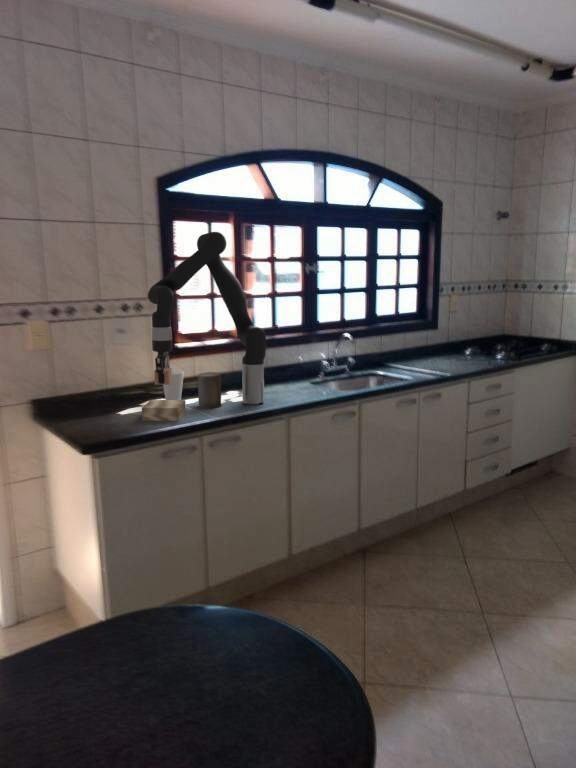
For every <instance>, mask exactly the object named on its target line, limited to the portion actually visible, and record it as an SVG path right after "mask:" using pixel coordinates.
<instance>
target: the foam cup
mask: <svg viewBox="0 0 576 768" xmlns="http://www.w3.org/2000/svg"><path fill="white" fill-rule="evenodd" d="M184 375H185V373H184V371H183V370H173V369H172V383H170V384H169V385H162V386H163V393H164V398H165V399H164V400H182V392H183V384H184V383H183V382H184V377H185V376H184Z"/></svg>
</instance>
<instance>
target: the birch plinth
mask: <svg viewBox="0 0 576 768" xmlns="http://www.w3.org/2000/svg"><path fill="white" fill-rule="evenodd" d="M186 405H187V404H186V399H181V400H166V399H150V400H148V402H146V403H145V404H144V405H143V406H142V407H141V421H143V422H144V421H145V422H146V421H147V422H149V421H152V422H153V421H154V422H157V421H158V422H159V421H160V422H179V421H180V420H181V419H182V418H183V416H184V415H185V414H186V412H187V409H186V407H187V406H186Z"/></svg>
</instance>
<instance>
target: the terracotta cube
mask: <svg viewBox="0 0 576 768" xmlns="http://www.w3.org/2000/svg"><path fill="white" fill-rule="evenodd" d="M160 370H161V368H160ZM172 371H173V368H171V367H170V368H165V373H164V380H165V383H164V384H159V382H158V373H156V369H155V370H154V371H153V373H154V374H153V375H154V377H153V378H154V385H155V386H159V385H161V386H163V385H169V384H170V383H172Z"/></svg>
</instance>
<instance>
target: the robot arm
mask: <svg viewBox="0 0 576 768" xmlns="http://www.w3.org/2000/svg"><path fill="white" fill-rule="evenodd" d="M196 247H197V250H196V251H195V252H193V254H192V255H190V256H188V257H187V258H185V259H184V260H182V261H181V262H180V263H179V264H178V265H176V267H174V269H172V270H171V271H170V272H169V273H168V274H167V275H166V276H165V277H163V278H161V279H160V280H159V281H157V282H156V283H154V284H153V285H152V286H151V287H150V289H148V293H147V299H148V300H149V302H150V303H151V304H153V305H156V311H153V312H152V314H151V322H152V323H151V324H152V325H151V346H152V349H151V350H152V351H153V352H157V356H156V357H155V358H154V361H155V370H156V373H158V382H159V384H164V383H165V380H164V373H165V368H171V367H170V355H171V354H170V352H172V351H173V331H172V317H171V316H172V311H173V307H174V302H175V295H174V292H177V291H180V290H181V289H182V288H183V287H184V286H186V284H187V283H188V282H189V281H190V280H191V279H192V278H193V277H194V276H195V275H196V274H197V273H198V272H199V271H200V270H201V269H202V268H204V267H205V266H206V267H207V269H208V270H209V272H210V274H211V276H212V278H213V281H214V283H215V284H216V286H217V289H218V291H219V294H220V296H221V298H222V301H223V303H224V305H225V307H226V309H227V310H228V312H229V315H230V317H231V318H232V321H233V323H234V326H235V328H236V332H237V335H238V339H239V340H240V342H241V344H242V345H244V346H245V353H244V356H243V357H242V361H241V362H242V363H241V365H242V370H241V372H242V375H241V376H242V379H241V380H242V384H241V385H242V397H241V398H242V403H243V404H246V405H260V404H259V403H263V402H264V401H265V379H264V378H265V377H264V374H265V367H264V365H265V363H264V362H265V358H266V352H267V350H266V349H267V336H266V332H265V331H264V329H263V328H262V327H259V326H255V325H254V323H253V322H252V319H251V317H250V315H249V312H248V308H247V307H248V305H247V297H246V293H245V292H244V290H243V289H244V288H243V287H242V284H241V283H240V281H239V279H238V278H237V276H236V275H235V274H234V273H233V272H232V271H231V270H230V269H229V268H228V267H227V266H226V264H225V263H224V261H223V259H222V257H221V254H223V253H224V251H225V250H226V248H227V239H226V237H225V235H224V234H222V233H221V232H219V231H210V232H207V233H204V234H201V235H200V236H198V238H197V240H196ZM168 352H169V353H168ZM160 368H161V370H160ZM264 403H265V402H264ZM264 403H263V404H264Z"/></svg>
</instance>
